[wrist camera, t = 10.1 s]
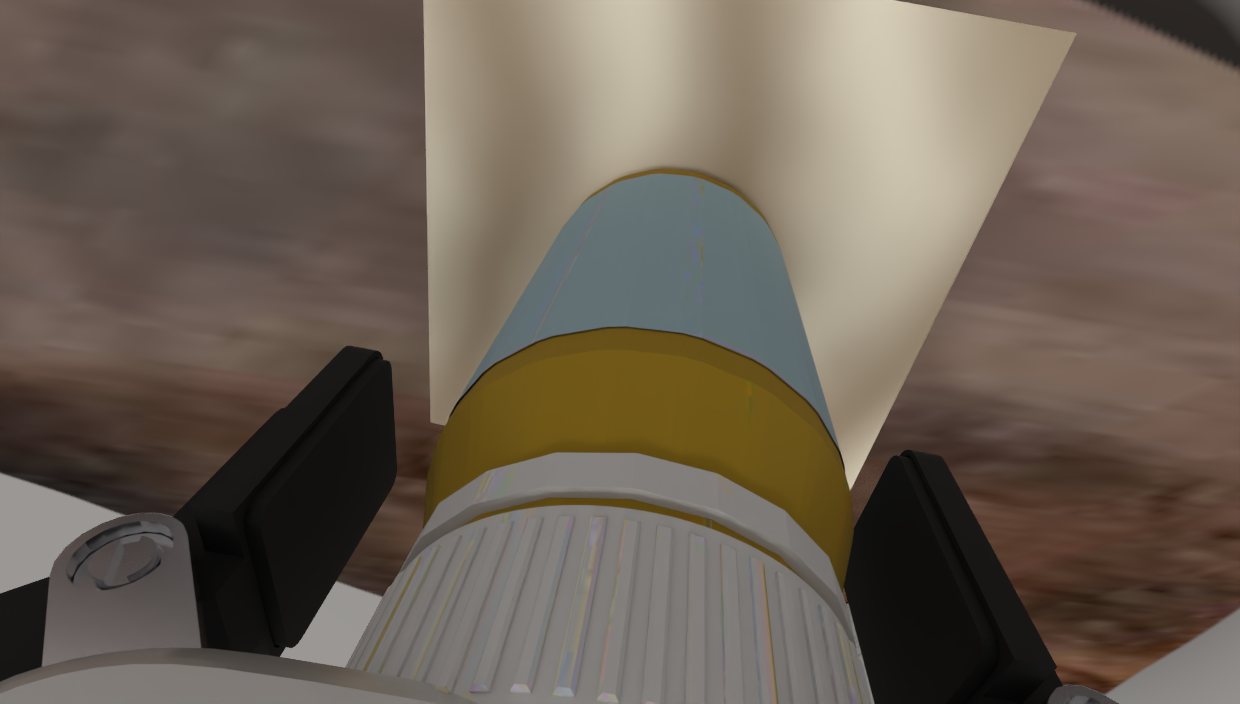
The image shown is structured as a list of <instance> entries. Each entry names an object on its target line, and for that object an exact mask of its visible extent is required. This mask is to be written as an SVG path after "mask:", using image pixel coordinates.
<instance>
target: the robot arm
mask: <svg viewBox="0 0 1240 704" xmlns="http://www.w3.org/2000/svg"><path fill="white" fill-rule="evenodd" d="M396 473H397V460H396V442H395V424H394V406H393V387H392V369H391V364H390V362H389V361H386V360H383V357H382V354H381V353H380V352H379V351H375V350H370V349H364V348H359V347H354V346H346V347H345V348H343V349H342V350H341V351H340V352H339V353H338V354H337V355H336V356H335V357H334V358H333V359H332V360H331V361H330V362H329V364H328V365H327V366H326V367H325V368H324V369H323V370H322V371H321V372H320V373H319V374H318V375H317V376H316V377H315V378H314V379H313V380H312V381H311V382H310V383H309V384H308V385H307V386H306V387H305V388H304V389H303V390H302V391H301V392H300V393H299V394H298V395H297V396H296V397H295V398H294V400H293V401H292V402H291V403H290V404H289V405H288V406H287V407H286V408H282V409H280V410H279V411H277V412H276V413H275V414H274V415H273V416H272V417H271V418H270V419H269V420H268V421H267V422H266V423H265V424H264V425H263V426H262V427H261V428H260V429H259V430H258V431H257V432H256V433H255V434H254V435H253V436H252V437H251V438H250V439H249V440H248V441H247V442H246V443H245V444H244V445H243V446H242V447H241V448H240V449H239V450H238V451H237V452H236V453H235V454H234V455H233V456H232V457H231V458H230V459H229V460H228V461H227V462H226V463H225V464H224V465H223V466H222V467H221V468H220V469H219V470H218V471H217V472H216V474H215V475H214V476H213V477H212V478H211V479H210V480H209V481H208V482H207V483H206V484H205V485H204V486H203V487H202V488H201V489H200V490H199V491H198V492H197V493H196V494H195V495H194V496H193V497H192V498H191V499H190V500H189V501H188V502H187V503H186V504H185V505H184V506H183V507H182V508H181V509H180V510H179V511H178V512H177V513H176V514H175V515H174V516H173V517H172V516H168V515H164V514H160V513H138V514H133V515H127V516H122V517H119V518H116V519H113V520H110V521H108V522H105V523H102V524H100V525H98V526H96V527H94V528H92V529H91V530H89V531H87V532H85V533H83V534H81V535H80V536H79V537H78V538H76V539H75V540H74V541H73V542H71V543H70V544H69V545H68V546H67V547H65V549H64V550H63V551H62V553H61V554H60V555H59V556H58V558H57V559H56V560H55V561H54V564H53V567H52V570H51V573H50V577H48V578H44V579H42V580H39V581H36V582H33V583H30V584H27V585H24V586H21V587H18V588H15V589H12V590H9V591H7V592H4V593H1V594H0V704H479V703H476V702H474V701H471V700H469V699H466V698H464V697H462V696H459V695H456V694H454V693H446V692H443V691H439V690H436V689H435V685H433V684H430V683H428V682H422V681H415V680H411V679H406V678H400V677H395V676H389V675H384V674H378V673H373V672H367V671H361V670H355V669H349V668H342V667H337V666H330V665H325V664H318V663H312V662H307V661H301V660H295V659H288V658H282V657H280V655H281V654H282V652H283V651H284V649H285V647H289V648H293V647H294V646H296V644H298V642H299V641H300V640H301V638H302V637H303V635H304V633H305V632H306V630H307V628H308V627H309V625H310V623H311V622H312V620H313V618H314V617H315V615H316V613H317V612H318V610H319V608H320V607H321V605H322V603H323V602H324V600H325V598H326V596H327V595H328V593H329V592H330V590H331V588H332V586H333V585H334V583H335V582H336V580H337V578H338V577H339V575H340V573H341V572H342V570H343V568H344V567H345V565H346V563H347V562H348V560H349V558H350V557H351V555H352V553H353V552H354V550H355V548H356V547H357V545H358V543H359V542H360V540H361V538H362V537H363V535H364V533H365V532H366V530H367V528H368V527H369V525H370V523H371V522H372V520H373V518H374V517H375V515H376V513H377V512H378V510H379V508H380V507H381V505H382V503H383V502H384V500H385V498H386V497H387V495H388V493H389V492H390V490H391V488H392V486H393V484H394V481H395V478H396ZM844 588H845V592H846V596H847V600H848V604H849V608H850V611H851V615H852V619H853V623H854V627H855V631H856V635H857V638H858V642H859V646H860V650H861V654H862V658H863V661H864V665H865V669H866V673H867V677H868V681H869V684H870V688H871V692H872V696H873V700H874V704H1119V703H1117V702H1115V701H1113V700H1112V699H1110V698H1108V697H1107V696H1105V695H1103V694H1102V693H1100V692H1097V691H1094V690H1092V689H1089V688H1086V687H1084V686H1076V685H1065V686H1063V685H1062V683H1061V681H1060V679H1059V678H1058V676H1057V674H1056V672H1055V669H1056V668H1057V666H1056V664H1055V663H1054V661H1053V659H1052V657H1051V655H1050V653H1049V652H1048V650H1047V648H1046V646H1045V644H1044V642H1043V641H1042V639H1041V637H1040V635H1039V633H1038V631H1037V630H1036V628H1035V626H1034V624H1033V622H1032V620H1031V619H1030V617H1029V615H1028V613H1027V611H1026V609H1025V608H1024V606H1023V604H1022V602H1021V600H1020V598H1019V597H1018V595H1017V593H1016V591H1015V589H1014V587H1013V586H1012V584H1011V582H1010V580H1009V578H1008V576H1007V575H1006V573H1005V571H1004V569H1003V567H1002V565H1001V564H1000V562H999V560H998V558H997V556H996V554H995V553H994V551H993V549H992V547H991V545H990V543H989V542H988V540H987V538H986V536H985V534H984V532H983V530H982V529H981V527H980V525H979V523H978V521H977V519H976V518H975V516H974V514H973V512H972V510H971V508H970V507H969V505H968V503H967V501H966V499H965V497H964V496H963V494H962V492H961V490H960V488H959V486H958V485H957V483H956V481H955V479H954V477H953V475H952V474H951V472H950V470H949V468H948V466H947V464H946V463H945V461H944V460H943V458H942V457H941V456H938V455H934V454H929V453H924V452H918V451H913V450H905V451H904V452H902V453H901V455H900V456H897V455H896V456H893V457H892V458H891V459H890V460H889V462H888V464H887V466H886V468H885V470H884V472H883V474H882V476H881V478H880V479H879V481H878V483H877V485H876V487H875V489H874V491H873V493H872V495H871V497H870V499H869V501H868V502H867V504H866V506H865V508H864V510H863V512H862V514H861V516H860V518H859V520H858V522H857V524H856V526H855V527H854V534H853V541H852V547H851V552H850V557H849V562H848V567H847V572H846V578H845V583H844Z"/></svg>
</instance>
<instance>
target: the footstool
mask: <svg viewBox="0 0 1240 704" xmlns="http://www.w3.org/2000/svg"><path fill="white" fill-rule="evenodd" d="M423 2H424V61H425V121H426V180H427V240H428V299H429V359H430V418H431V423H436V424H441V425H446V424H447V422H448V419H449V416H450V414H451V412H452V410H453V408H454V406H455V405H456V403H457V401H458V399H459V398H460V396H461V395H462V393H463V391H464V390H465V388H466V386H467V385H468V383H469V381H470V380H471V378H472V376H473V375H474V373H475V371H476V370H477V368H478V366H479V365H480V363H481V361H482V360H483V358H484V356H485V355H486V353H487V352H488V350H489V348H490V347H491V345H492V343H493V342H494V340H495V338H496V337H497V335H498V333H499V332H500V330H501V328H502V327H503V325H504V323H505V322H506V320H507V318H508V317H509V315H510V314H511V312H512V310H513V309H514V307H515V305H516V304H517V302H518V300H519V299H520V297H521V295H522V294H523V292H524V290H525V289H526V287H527V285H528V284H529V282H530V280H531V279H532V277H533V276H534V274H535V272H536V271H537V269H538V267H539V266H540V264H541V262H542V261H543V259H544V257H545V256H546V254H547V252H548V251H549V249H550V247H551V246H552V244H553V242H554V241H555V239H556V237H557V236H558V234H559V233H560V231H561V229H562V228H563V226H564V225H565V224H566V223H567V221H568V220H569V219H570V218H571V216H572V215H573V214H574V213H575V212H576V210H577V209H578V208H579V207H580V206H581V204H582V203H583V202H584V201H585V200H586V199H587V198H588V197H589V196H590V195H592V194H593V193H595V192H596V191H598V190H600V189H601V188H603V187H604V186H606V185H608V184H609V183H611V182H613V181H614V180H616V179H619V178H621V177H623V176H627V175H631V174H635V173H640V172H644V171H648V170H653V169H672V170H682V171H693V172H697V173H701V174H704V175H706V176H709V177H711V178H713V179H715V180H718V181H720V182H722V183H725V184H727V185H729V186H731V187H732V188H734V189H735V190H737V191H739V192H740V193H741V194H742V195H743V196H744V197H745V198H746V199H747V200H748V201H749V202H750V203H752V204H753V205H754V206H755V207H756V208H757V209H758V210H759V211H760V212H761V213H762V215H763V216H764V217H765V219H766V221H767V223H768V225H769V226H770V228H771V230H772V232H773V234H774V236H775V238H776V240H777V242H778V245H779V247H780V249H781V251H782V255H783V258H784V261H785V264H786V268H787V271H788V275H789V278H790V281H791V285H792V288H793V292H794V295H795V298H796V302H797V305H798V309H799V312H800V315H801V319H802V322H803V326H804V329H805V332H806V336H807V339H808V343H809V346H810V349H811V353H812V356H813V360H814V363H815V366H816V370H817V373H818V377H819V380H820V383H821V387H822V390H823V394H824V397H825V400H826V404H827V407H828V411H829V414H830V417H831V421H832V424H833V428H834V431H835V434H836V438H837V441H838V445H839V448H840V451H841V455H842V458H843V462H844V465H845V475H846V478H847V482H848V485H849V489H850V490H851V488H852V486H853V484H854V482H855V480H856V478H857V476H858V474H859V472H860V470H861V468H862V466H863V464H864V462H865V460H866V458H867V455H868V453H869V451H870V449H871V447H872V445H873V443H874V441H875V439H876V437H877V435H878V433H879V431H880V429H881V427H882V425H883V423H884V421H885V419H886V417H887V415H888V413H889V411H890V409H891V407H892V405H893V403H894V401H895V399H896V397H897V395H898V393H899V391H900V389H901V387H902V385H903V383H904V381H905V379H906V377H907V375H908V373H909V371H910V369H911V367H912V365H913V363H914V361H915V359H916V357H917V355H918V353H919V351H920V349H921V347H922V345H923V343H924V341H925V339H926V337H927V335H928V333H929V330H930V328H931V326H932V324H933V322H934V320H935V318H936V316H937V314H938V312H939V310H940V308H941V306H942V304H943V302H944V300H945V298H946V296H947V294H948V292H949V290H950V288H951V286H952V284H953V282H954V280H955V278H956V276H957V274H958V272H959V270H960V268H961V266H962V264H963V262H964V260H965V258H966V256H967V254H968V252H969V250H970V248H971V246H972V244H973V242H974V240H975V238H976V236H977V234H978V232H979V230H980V228H981V226H982V224H983V222H984V220H985V218H986V216H987V214H988V212H989V210H990V207H991V205H992V203H993V201H994V199H995V197H996V195H997V193H998V191H999V189H1000V187H1001V185H1002V183H1003V181H1004V179H1005V177H1006V175H1007V173H1008V171H1009V169H1010V167H1011V165H1012V163H1013V161H1014V159H1015V157H1016V155H1017V153H1018V151H1019V149H1020V147H1021V145H1022V143H1023V141H1024V139H1025V137H1026V135H1027V133H1028V131H1029V129H1030V127H1031V125H1032V123H1033V121H1034V119H1035V117H1036V115H1037V113H1038V111H1039V109H1040V107H1041V105H1042V103H1043V101H1044V99H1045V97H1046V95H1047V93H1048V91H1049V89H1050V87H1051V85H1052V82H1053V80H1054V78H1055V76H1056V74H1057V72H1058V70H1059V68H1060V66H1061V64H1062V62H1063V60H1064V58H1065V56H1066V54H1067V52H1068V50H1069V48H1070V46H1071V44H1072V42H1073V40H1074V38H1075V36H1076V34H1077V33H1072V32H1066V31H1061V30H1055V29H1050V28H1044V27H1039V26H1033V25H1028V24H1022V23H1017V22H1011V21H1006V20H1000V19H995V18H989V17H984V16H978V15H973V14H967V13H962V12H956V11H951V10H945V9H940V8H934V7H929V6H923V5H918V4H912V3H907V2H901V1H896V0H423Z"/></svg>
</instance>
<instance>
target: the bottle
mask: <svg viewBox="0 0 1240 704" xmlns="http://www.w3.org/2000/svg"><path fill="white" fill-rule="evenodd" d="M853 534H854V525H853V513H852V502H851V492H850V489H849V485H848V482H847V478H846V475H845V465H844V462H843V458H842V455H841V451H840V448H839V445H838V441H837V438H836V434H835V431H834V428H833V424H832V421H831V417H830V414H829V411H828V407H827V404H826V400H825V397H824V394H823V390H822V387H821V383H820V380H819V377H818V373H817V370H816V366H815V363H814V360H813V356H812V353H811V349H810V346H809V343H808V339H807V336H806V332H805V329H804V326H803V322H802V319H801V315H800V312H799V309H798V305H797V302H796V298H795V295H794V292H793V288H792V285H791V281H790V278H789V275H788V271H787V268H786V264H785V261H784V258H783V255H782V251H781V249H780V247H779V245H778V242H777V240H776V238H775V236H774V234H773V232H772V230H771V228H770V226H769V225H768V223H767V221H766V219H765V217H764V216H763V215H762V213H761V212H760V211H759V210H758V209H757V208H756V207H755V206H754V205H753V204H752V203H750V202H749V201H748V200H747V199H746V198H745V197H744V196H743V195H742V194H741V193H740V192H739V191H737V190H735V189H734V188H732V187H731V186H729V185H727V184H725V183H722V182H720V181H718V180H715V179H713V178H711V177H709V176H706V175H704V174H701V173H697V172H693V171H682V170H672V169H653V170H648V171H644V172H640V173H635V174H631V175H627V176H623V177H621V178H619V179H616V180H614V181H613V182H611V183H609V184H608V185H606V186H604V187H603V188H601V189H600V190H598V191H596V192H595V193H593V194H592V195H590V196H589V197H588V198H587V199H586V200H585V201H584V202H583V203H582V204H581V206H580V207H579V208H578V209H577V210H576V212H575V213H574V214H573V215H572V216H571V218H570V219H569V220H568V221H567V223H566V224H565V225H564V226H563V228H562V229H561V231H560V233H559V234H558V236H557V237H556V239H555V241H554V242H553V244H552V246H551V247H550V249H549V251H548V252H547V254H546V256H545V257H544V259H543V261H542V262H541V264H540V266H539V267H538V269H537V271H536V272H535V274H534V276H533V277H532V279H531V280H530V282H529V284H528V285H527V287H526V289H525V290H524V292H523V294H522V295H521V297H520V299H519V300H518V302H517V304H516V305H515V307H514V309H513V310H512V312H511V314H510V315H509V317H508V318H507V320H506V322H505V323H504V325H503V327H502V328H501V330H500V332H499V333H498V335H497V337H496V338H495V340H494V342H493V343H492V345H491V347H490V348H489V350H488V352H487V353H486V355H485V356H484V358H483V360H482V361H481V363H480V365H479V366H478V368H477V370H476V371H475V373H474V375H473V376H472V378H471V380H470V381H469V383H468V385H467V386H466V388H465V390H464V391H463V393H462V395H461V396H460V398H459V399H458V401H457V403H456V405H455V406H454V408H453V410H452V412H451V414H450V416H449V419H448V422H447V424H446V425H445V427H444V429H443V430H442V432H441V434H440V436H439V438H438V440H437V443H436V447H435V450H434V453H433V457H432V460H431V463H430V467H429V470H428V475H427V487H426V500H425V512H424V524H423V530H422V532H421V534H420V535H419V537H418V538H417V540H416V542H415V543H414V545H413V547H412V549H411V551H410V553H409V555H408V557H407V558H406V560H405V562H404V564H403V566H402V568H401V570H400V572H399V574H398V575H397V576H396V578H395V580H394V582H393V584H392V585H391V586H390V587H388V589H387V590H386V592H385V594H384V596H383V598H382V600H381V602H380V604H379V605H378V607H377V609H376V611H375V613H374V615H373V617H372V619H371V620H370V623H369V624H368V626H367V628H366V630H365V632H364V634H363V635H362V637H361V639H360V641H359V643H358V645H357V647H356V649H355V650H354V652H353V654H352V656H351V658H350V660H349V662H348V664H347V666H346V667H345V668H349V669H355V670H361V671H367V672H373V673H378V674H384V675H389V676H395V677H400V678H406V679H411V680H415V681H422V682H428V683H430V684H433V685H435V689H436V690H439V691H443V692H446V693H454V694H456V695H459V696H462V697H464V698H466V699H469V700H471V701H474V702H476V703H479V704H871V700H870V695H869V691H868V687H867V682H866V678H865V674H864V670H863V666H862V662H861V661H860V660H859V659H858V655H857V651H856V644H855V639H854V635H853V630H852V626H851V622H850V617H849V613H848V609H847V605H846V602H845V600H844V597H843V594H842V593H843V588H844V583H845V578H846V572H847V567H848V562H849V557H850V552H851V547H852V541H853Z"/></svg>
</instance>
